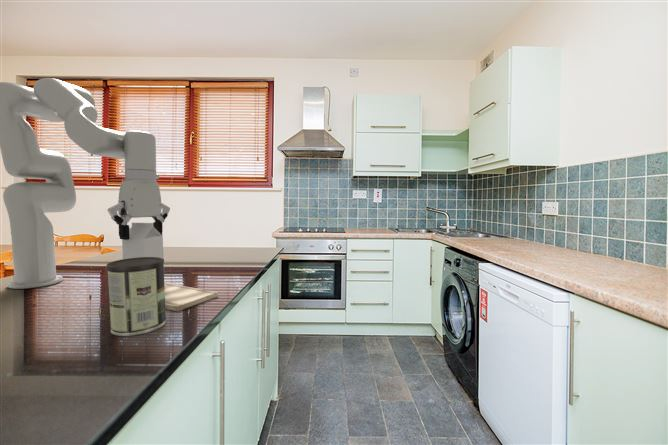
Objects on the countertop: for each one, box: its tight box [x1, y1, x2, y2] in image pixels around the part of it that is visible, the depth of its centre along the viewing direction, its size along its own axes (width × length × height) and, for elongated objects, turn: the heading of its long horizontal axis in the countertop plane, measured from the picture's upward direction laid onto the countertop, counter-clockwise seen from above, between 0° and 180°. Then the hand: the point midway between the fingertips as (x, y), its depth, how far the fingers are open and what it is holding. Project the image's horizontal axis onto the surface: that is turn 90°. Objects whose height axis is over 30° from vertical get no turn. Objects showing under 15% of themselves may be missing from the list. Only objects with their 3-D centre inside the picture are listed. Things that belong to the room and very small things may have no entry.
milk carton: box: [121, 222, 165, 260], centre depth 90 cm, size 7×7×19 cm
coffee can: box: [105, 257, 167, 337], centre depth 67 cm, size 10×10×14 cm
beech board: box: [164, 282, 219, 312], centre depth 87 cm, size 24×13×1 cm, turn 65°
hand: (141, 237), depth 90 cm, fingers open, 9 cm apart
